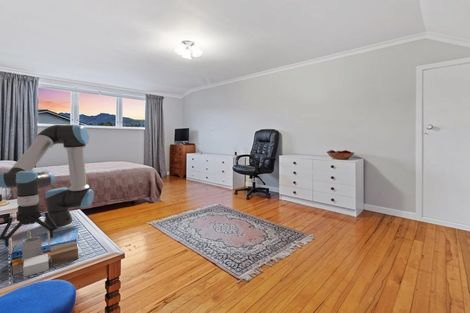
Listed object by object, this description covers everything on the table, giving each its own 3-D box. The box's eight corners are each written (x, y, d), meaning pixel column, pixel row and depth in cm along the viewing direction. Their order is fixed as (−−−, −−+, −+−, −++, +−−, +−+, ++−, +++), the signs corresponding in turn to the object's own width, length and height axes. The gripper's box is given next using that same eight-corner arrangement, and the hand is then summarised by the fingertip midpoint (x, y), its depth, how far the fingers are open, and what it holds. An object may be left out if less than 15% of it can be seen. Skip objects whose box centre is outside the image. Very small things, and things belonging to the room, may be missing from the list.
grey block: (25, 268, 102) (24, 259, 102) (48, 261, 107) (47, 253, 107) (23, 276, 96) (23, 267, 96) (48, 269, 101) (48, 260, 101)
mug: (23, 266, 103) (21, 240, 103) (18, 257, 111) (17, 232, 110) (45, 259, 109) (43, 234, 108) (39, 251, 117) (37, 228, 116)
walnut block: (50, 256, 112) (50, 246, 111) (76, 250, 118) (75, 241, 117) (51, 265, 104) (50, 255, 103) (78, 258, 110) (77, 248, 110)
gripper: (-12, 211, 97) (-9, 260, 99) (62, 201, 113) (64, 244, 115) (-9, 206, 103) (-6, 253, 105) (61, 198, 119) (63, 238, 120)
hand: (30, 248), depth 110 cm, fingers open, 13 cm apart
